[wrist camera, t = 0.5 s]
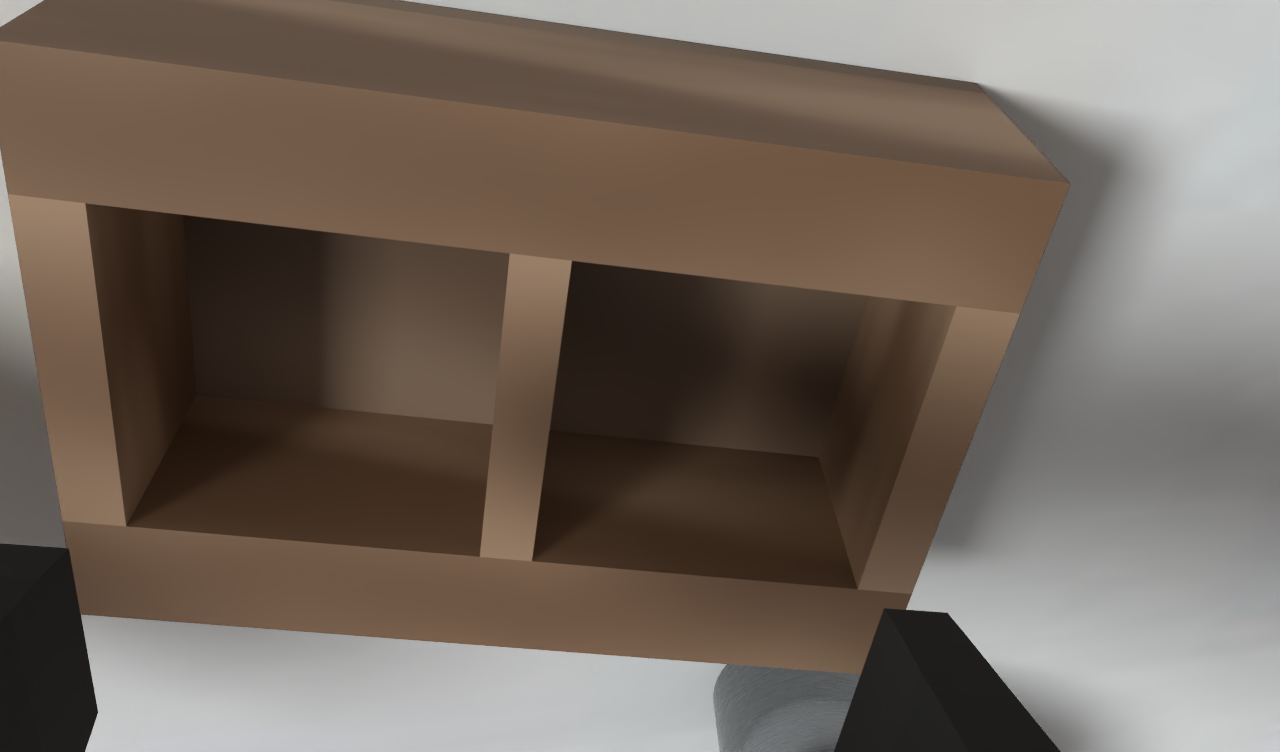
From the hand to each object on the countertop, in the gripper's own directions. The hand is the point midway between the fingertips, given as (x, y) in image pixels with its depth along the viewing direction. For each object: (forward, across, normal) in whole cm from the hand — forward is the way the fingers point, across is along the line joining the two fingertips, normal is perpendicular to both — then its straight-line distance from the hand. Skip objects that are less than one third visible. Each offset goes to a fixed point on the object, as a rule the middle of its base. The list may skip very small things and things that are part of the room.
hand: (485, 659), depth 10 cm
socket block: (+10, 0, +1) cm, 10 cm away
